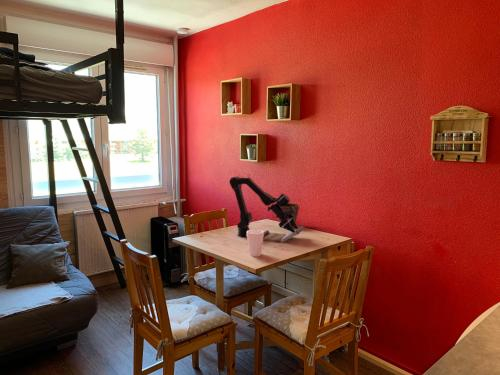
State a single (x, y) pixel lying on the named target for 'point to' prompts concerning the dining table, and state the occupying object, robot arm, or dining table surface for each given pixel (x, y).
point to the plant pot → (294, 208)
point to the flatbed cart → (272, 237)
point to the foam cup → (255, 242)
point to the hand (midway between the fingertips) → (295, 230)
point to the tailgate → (292, 234)
